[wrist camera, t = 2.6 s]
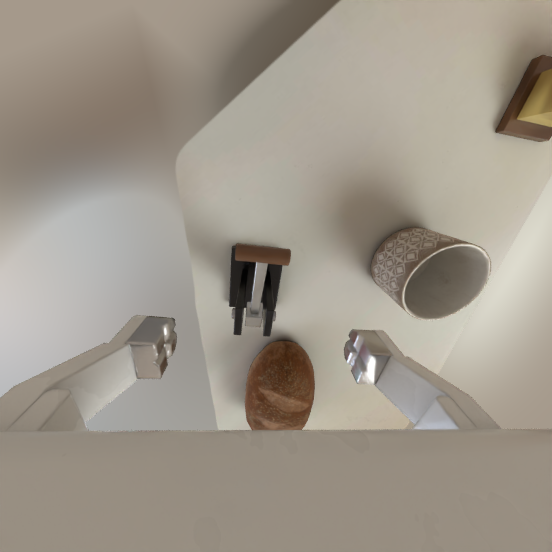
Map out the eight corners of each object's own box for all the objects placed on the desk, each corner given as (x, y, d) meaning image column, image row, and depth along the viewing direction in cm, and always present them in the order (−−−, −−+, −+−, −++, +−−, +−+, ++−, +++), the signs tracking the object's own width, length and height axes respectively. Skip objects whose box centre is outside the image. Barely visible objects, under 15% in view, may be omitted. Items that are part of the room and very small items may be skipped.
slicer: (232, 245, 35) (219, 279, 23) (283, 251, 36) (295, 286, 24) (230, 303, 40) (218, 354, 28) (274, 306, 41) (280, 356, 30)
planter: (376, 297, 42) (409, 332, 33) (359, 246, 36) (394, 270, 27) (437, 270, 40) (491, 299, 31) (429, 212, 35) (491, 226, 25)
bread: (317, 336, 46) (334, 383, 35) (298, 413, 58) (307, 463, 48) (248, 335, 44) (245, 383, 34) (244, 414, 57) (241, 466, 47)
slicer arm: (237, 236, 19) (234, 255, 17) (290, 242, 19) (291, 261, 18) (236, 310, 30) (234, 325, 28) (270, 313, 30) (270, 328, 29)
